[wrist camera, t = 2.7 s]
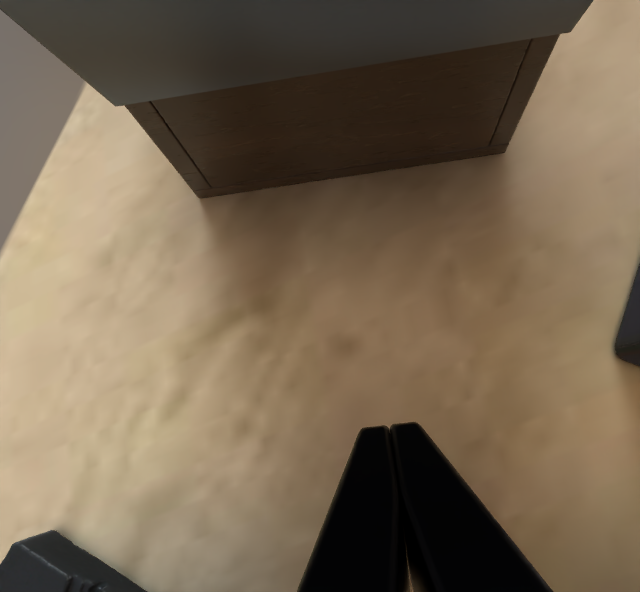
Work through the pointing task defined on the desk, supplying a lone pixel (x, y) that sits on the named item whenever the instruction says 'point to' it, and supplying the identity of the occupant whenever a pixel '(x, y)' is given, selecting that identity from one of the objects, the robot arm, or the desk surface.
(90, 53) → the lid
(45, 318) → the desk surface
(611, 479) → the desk surface
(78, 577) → the disk drive
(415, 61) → the chest
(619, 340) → the calculator
